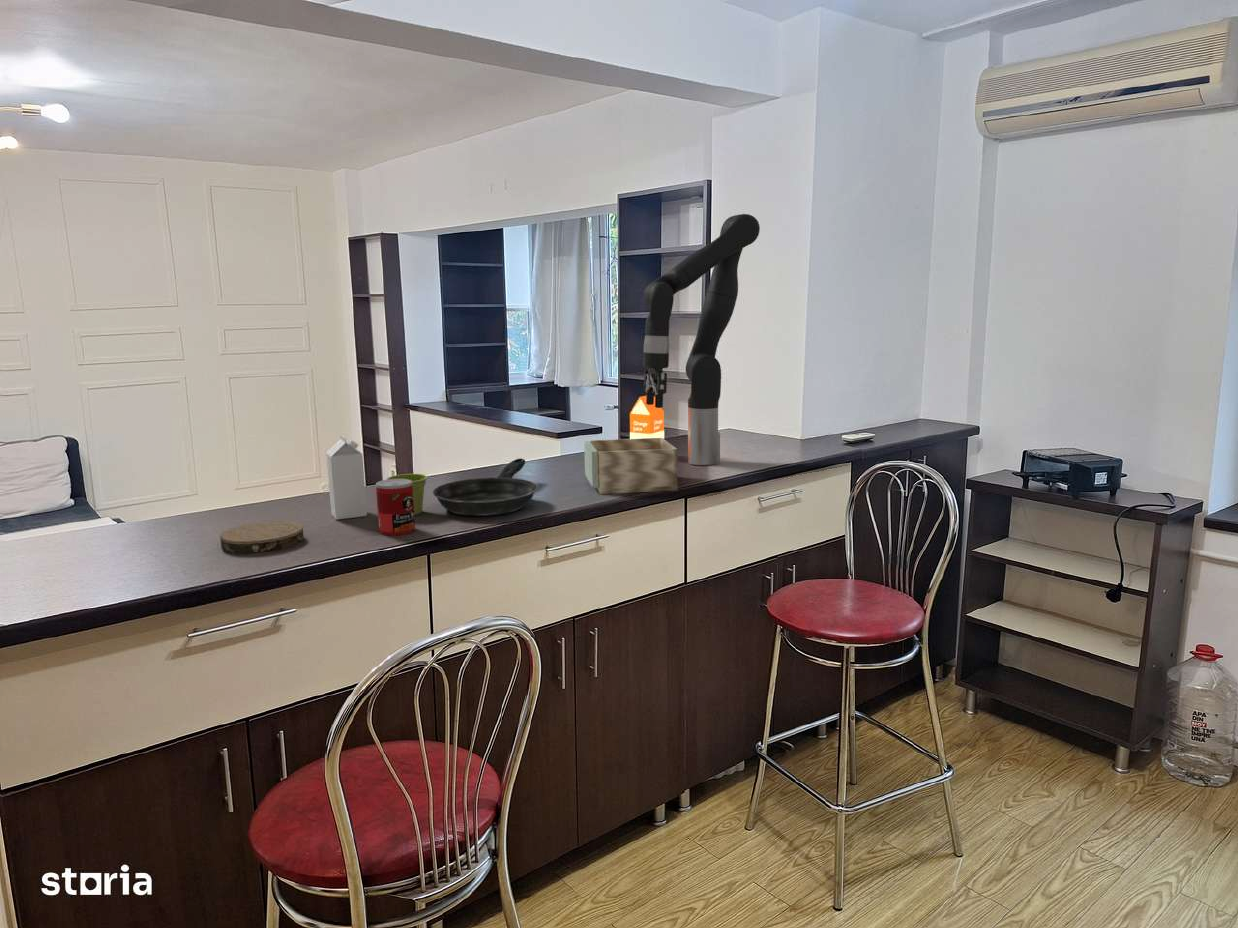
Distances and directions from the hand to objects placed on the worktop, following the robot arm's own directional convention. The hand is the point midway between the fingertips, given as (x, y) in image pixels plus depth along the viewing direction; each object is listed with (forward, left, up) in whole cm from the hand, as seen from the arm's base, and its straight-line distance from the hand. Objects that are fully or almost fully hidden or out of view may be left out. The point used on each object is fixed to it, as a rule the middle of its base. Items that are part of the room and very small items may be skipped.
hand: (654, 406), depth 243 cm
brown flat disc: (+96, +63, -19) cm, 117 cm away
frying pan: (+48, +35, -19) cm, 62 cm away
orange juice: (-1, -16, -19) cm, 25 cm away
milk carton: (+82, +42, -19) cm, 94 cm away
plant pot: (+68, +43, -19) cm, 83 cm away
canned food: (+69, +59, -19) cm, 93 cm away
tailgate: (+21, +23, -17) cm, 36 cm away
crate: (+11, +23, -18) cm, 32 cm away
